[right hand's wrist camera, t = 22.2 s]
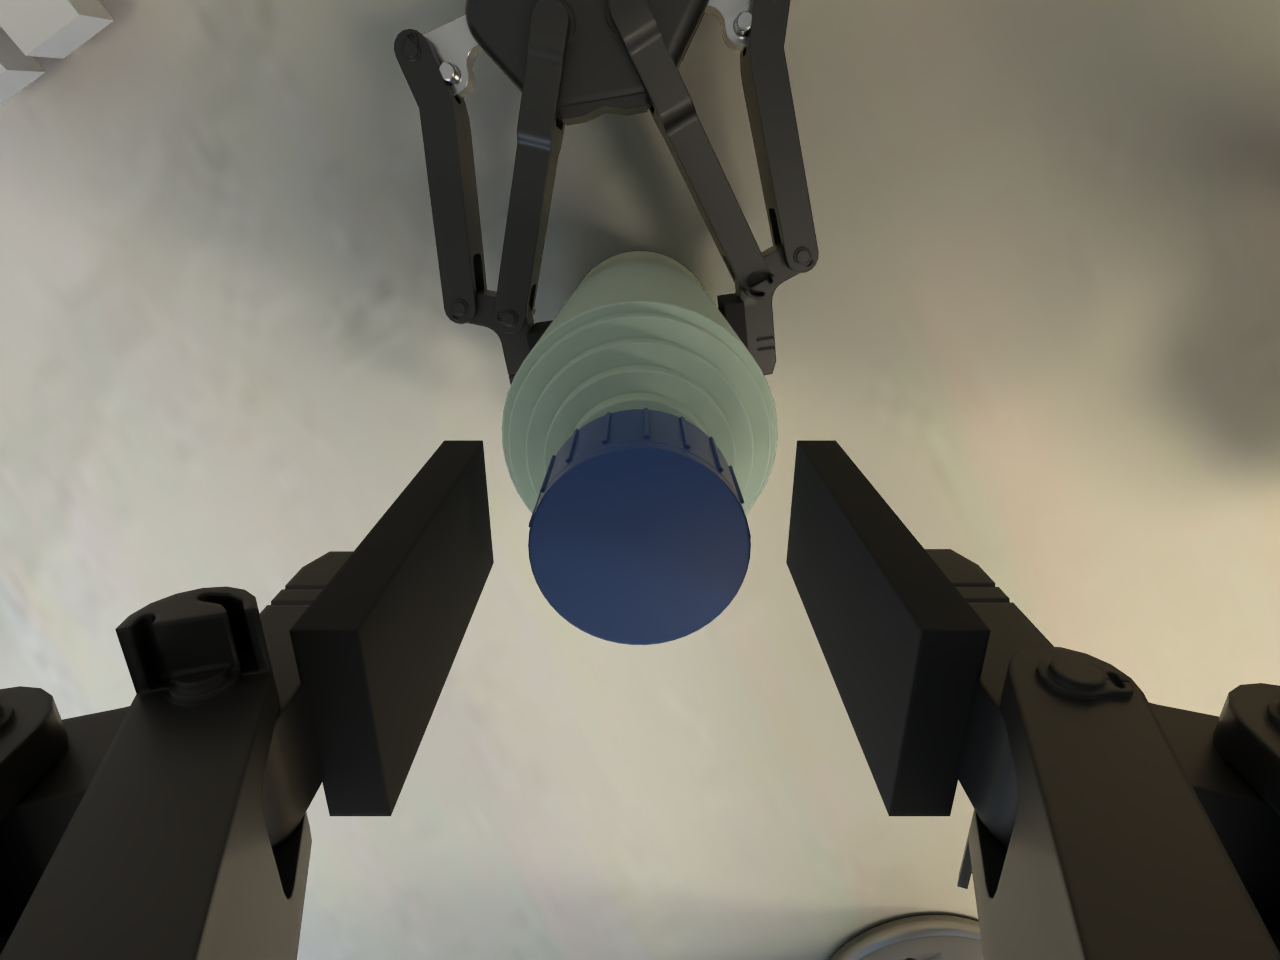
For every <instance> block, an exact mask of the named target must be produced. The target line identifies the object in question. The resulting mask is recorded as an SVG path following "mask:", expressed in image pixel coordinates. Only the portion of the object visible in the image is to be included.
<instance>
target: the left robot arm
mask: <svg viewBox="0 0 1280 960" xmlns="http://www.w3.org/2000/svg"><path fill="white" fill-rule="evenodd" d="M789 5H790V0H467V2H466V15H464V16H462V17H459V18H457V19H455V20H453V21H451V22H449V23H447V24H445V25H443V26H441V27H438V28H436V29H434V30H432V31H430V32H428V33H426V34H423V35H422V34H421V33H419V32H418V31H416V30H412V29H408V30H403V31H402V32H401V33H400V34H398V36H397V38H396V40H395V44H394V51H395V54H396V58H397V60H398V62H399V64H400V67H401V69H402V71H403V73H404V75H405V78H406V80H407V82H408V84H409V87H410V89H411V91H412V93H413V95H414V98H415V100H416V102H417V104H418V106H419V110H420V118H421V126H422V134H423V142H424V150H425V158H426V166H427V174H428V182H429V190H430V198H431V206H432V214H433V222H434V230H435V238H436V246H437V254H438V262H439V270H440V278H441V286H442V294H443V302H444V309H445V312H446V315H447V316H448V317H449V319H450V320H452V321H453V322H455V323H459V324H463V323H471V324H476V325H481V326H485V327H488V328H490V329H492V330H494V331H495V332H496V333H497V334H498V336H499V338H500V340H501V343H502V347H503V352H504V356H505V361H506V365H507V370H508V374H509V379H510V384H512V382H513V379H514V377H515V375H516V373H517V372H518V370H519V368H520V366H521V365H522V363H523V361H524V360H525V358H526V357H527V356H528V354H529V353H530V351H531V350H532V349H533V347H534V346H535V345H536V343H537V342H538V340H539V339H540V338H541V336H542V335H543V334H544V332H545V331H546V330H547V328H548V327H549V325H550V324H551V323H552V321H553V320H552V321H545V322H539V323H535V324H534V320H533V315H534V313H535V310H534V305H535V298H536V292H537V286H538V280H539V273H540V267H541V261H542V255H543V248H544V242H545V236H546V230H547V223H548V217H549V211H550V205H551V198H552V192H553V186H554V180H555V173H556V167H557V161H558V156H559V152H560V149H561V145H562V139H563V133H564V127H565V124H566V125H572V124H578V123H584V122H587V121H590V120H592V119H594V118H596V117H598V116H600V115H602V114H604V113H613V114H621V115H632V114H638V113H645V112H647V109H649V110H650V112H651V114H652V116H653V118H654V120H655V123H656V125H657V127H658V129H659V130H660V132H661V134H662V136H663V137H664V139H665V141H666V143H667V145H668V147H669V149H670V151H671V153H672V155H673V157H674V160H675V162H676V164H677V166H678V168H679V170H680V172H681V174H682V176H683V178H684V180H685V182H686V184H687V186H688V188H689V190H690V192H691V194H692V196H693V198H694V201H695V203H696V205H697V207H698V209H699V211H700V213H701V215H702V217H703V219H704V221H705V223H706V225H707V227H708V229H709V231H710V233H711V235H712V237H713V239H714V242H715V244H716V246H717V248H718V250H719V252H720V254H721V256H722V258H723V260H724V262H725V264H726V266H727V268H728V270H729V272H730V274H731V276H732V278H733V280H734V282H735V290H736V294H735V293H733V294H726V295H720V296H717V298H718V308H719V311H720V312H721V314H722V315H723V316H724V318H725V319H726V320H727V322H728V323H729V325H730V326H731V327H732V329H733V330H734V331H735V333H736V334H737V336H738V337H739V338H740V340H741V341H742V343H743V344H744V345H745V347H746V348H747V349H748V351H749V352H750V354H751V355H752V356H753V358H754V360H755V361H756V363H757V364H758V366H759V367H760V369H761V370H762V372H763V375H768V374H772V373H773V369H774V366H775V363H776V353H775V339H774V326H773V312H772V296H773V293H774V291H775V289H776V288H777V287H778V286H779V285H780V284H781V283H782V282H784V281H786V280H788V279H789V278H791V277H793V276H795V275H797V274H799V273H803V272H807V271H809V270H811V269H812V268H813V267H814V266H815V265H816V262H817V260H818V247H817V241H816V235H815V229H814V223H813V218H812V212H811V206H810V200H809V194H808V188H807V182H806V176H805V170H804V164H803V159H802V153H801V147H800V141H799V135H798V129H797V123H796V117H795V111H794V105H793V100H792V94H791V88H790V82H789V76H788V70H787V64H786V58H785V52H784V42H785V35H786V27H787V20H788V13H789ZM704 13H709V14H712V15H713V16H715V17H716V18H717V19H718V20H719V22H720V24H721V27H722V34H723V39H724V42H725V44H726V45H727V46H728V47H729V48H730V49H732V50H735V51H741V52H740V67H741V77H742V85H743V90H744V95H745V100H746V106H747V111H748V116H749V121H750V127H751V132H752V137H753V142H754V147H755V153H756V158H757V163H758V168H759V174H760V179H761V184H762V189H763V194H764V200H765V205H766V210H767V215H768V220H769V226H770V231H771V236H772V241H773V246H772V247H771V248H769V249H767V250H765V251H763V252H761V251H760V249H759V247H758V245H757V243H756V240H755V238H754V236H753V234H752V232H751V230H750V228H749V225H748V223H747V221H746V219H745V217H744V215H743V213H742V210H741V208H740V206H739V204H738V202H737V200H736V198H735V195H734V193H733V191H732V189H731V187H730V185H729V183H728V181H727V178H726V176H725V174H724V172H723V170H722V168H721V166H720V163H719V161H718V159H717V157H716V155H715V153H714V151H713V148H712V146H711V144H710V142H709V140H708V138H707V136H706V133H705V131H704V129H703V127H702V125H701V123H700V121H699V118H698V116H697V114H696V111H695V108H694V105H693V102H692V100H691V97H690V95H689V93H688V91H687V89H686V86H685V84H684V82H683V80H682V78H681V76H680V74H679V71H678V68H679V66H680V64H681V62H682V60H683V57H684V55H685V53H686V51H687V49H688V47H689V45H690V43H691V41H692V38H693V36H694V34H695V32H696V30H697V28H698V26H699V24H700V22H701V19H702V17H703V15H704ZM483 50H484V51H485V52H486V53H487V54H488V55H489V57H490V58H491V59H492V60H493V61H494V62H495V63H496V64H497V65H498V66H499V67H500V69H501V70H502V71H503V72H504V73H505V74H506V75H507V76H508V77H509V78H510V80H511V81H512V82H513V83H514V84H515V85H516V86H517V87H518V88H519V89H520V90H521V92H522V98H521V105H520V112H519V120H518V128H517V140H518V143H517V152H516V159H515V166H514V174H513V181H512V188H511V195H510V202H509V209H508V217H507V224H506V231H505V238H504V245H503V252H502V260H501V267H500V274H499V281H498V288H497V292H495V291H490V290H487V285H486V275H485V265H484V255H483V245H482V236H481V226H480V216H479V206H478V196H477V186H476V177H475V167H474V157H473V147H472V137H471V128H470V122H469V116H468V112H467V108H466V104H465V101H464V98H463V97H465V96H467V95H468V94H470V92H471V91H472V89H473V87H474V74H473V62H474V60H475V58H476V56H477V55H478V54H479V53H480V52H482V51H483Z"/></svg>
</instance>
